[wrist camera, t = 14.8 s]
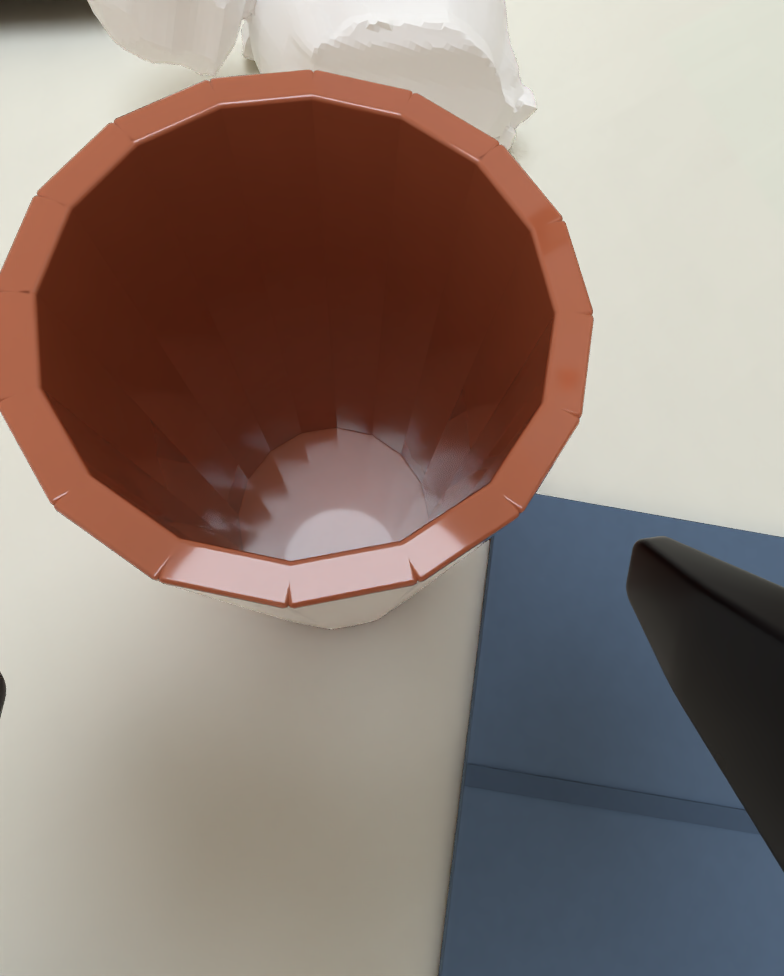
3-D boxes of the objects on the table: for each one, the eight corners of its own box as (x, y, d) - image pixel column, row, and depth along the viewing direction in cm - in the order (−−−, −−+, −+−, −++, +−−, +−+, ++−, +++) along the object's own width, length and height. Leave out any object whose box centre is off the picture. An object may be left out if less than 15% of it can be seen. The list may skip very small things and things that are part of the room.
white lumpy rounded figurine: (423, 93, 28) (67, -11, 21) (535, -116, 21) (47, -379, 14) (461, 245, 26) (81, 184, 19) (601, 72, 19) (67, -125, 12)
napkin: (857, 1204, 16) (873, 1222, 15) (418, 1137, 15) (420, 1153, 15) (833, 549, 20) (845, 546, 20) (496, 490, 20) (500, 486, 20)
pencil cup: (479, 550, 20) (708, 390, 7) (300, 672, 18) (180, 745, 6) (365, 386, 21) (385, -2, 8) (189, 489, 19) (-111, 213, 7)
